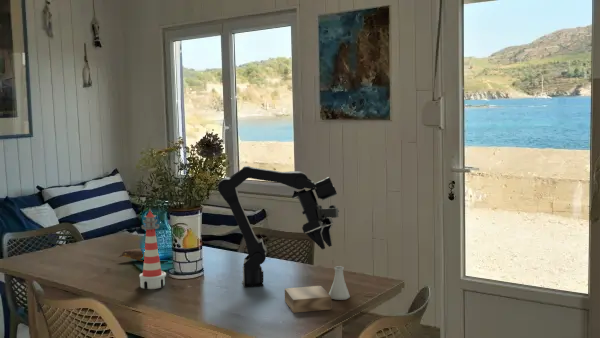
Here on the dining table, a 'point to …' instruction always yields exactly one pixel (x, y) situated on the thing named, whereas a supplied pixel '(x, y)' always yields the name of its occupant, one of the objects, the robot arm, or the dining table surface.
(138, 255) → the bird sculpture
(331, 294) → the flask
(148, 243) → the miniature lighthouse
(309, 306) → the light brown square board
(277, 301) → the dining table surface
